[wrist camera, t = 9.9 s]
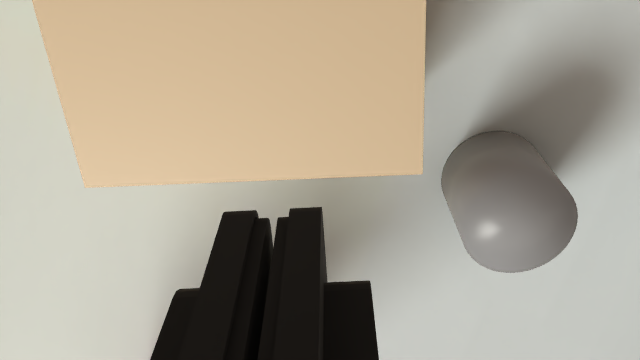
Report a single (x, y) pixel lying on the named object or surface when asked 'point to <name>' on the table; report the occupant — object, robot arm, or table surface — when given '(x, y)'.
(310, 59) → the box lid
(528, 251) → the grey rounded blob
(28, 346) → the table surface
